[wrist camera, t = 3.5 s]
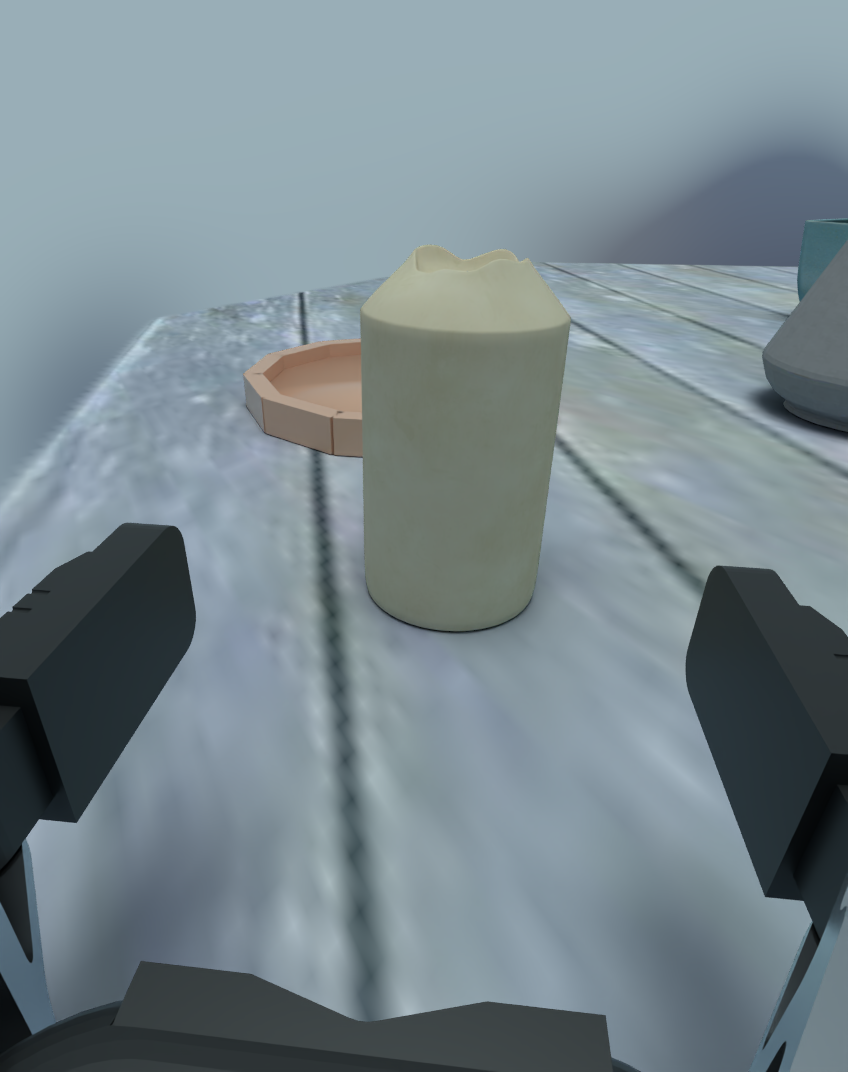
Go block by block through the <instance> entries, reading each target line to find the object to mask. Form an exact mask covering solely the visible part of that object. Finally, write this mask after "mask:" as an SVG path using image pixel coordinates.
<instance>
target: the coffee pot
mask: <svg viewBox="0 0 848 1072" xmlns="http://www.w3.org/2000/svg"><path fill="white" fill-rule="evenodd" d="M762 358H763V364H764V369H765V374H766V378H767V380H768V381H769V383H770V385H771V386H772V388H773V390H774V391H776V392H777V393H778V394H779V395H780V396H782V397H783V398H784V399H785V401H784V407H785V408H786V409H787V410H788V411H790V412H791V413H792V414H794V415H796V416H798V417H800V418H802V419H805V420H808V421H810V422H813V423H816V424H819V425H822V426H826V427H830V428H833V429H837V430H842V431H847V432H848V240H847V241H846V242H845V244H844V245H843V246H842V248H841V249H840V250H839V252H838V253H837V254H836V255H835V257H834V258H833V259H832V261H831V262H830V263H829V265H828V266H827V267H826V269H825V270H824V271H823V272H822V274H821V275H820V276H819V278H818V279H817V280H816V282H815V283H814V284H813V286H812V287H811V288H810V289H809V291H808V292H807V293H806V295H805V296H804V297H803V299H802V300H801V301H800V303H799V304H798V305H797V307H796V308H795V309H794V310H793V312H792V313H791V314H790V316H789V317H788V318H787V320H786V321H785V322H784V324H783V325H782V326H781V327H780V329H779V330H778V331H777V333H776V334H775V335H774V337H773V338H772V339H771V341H770V342H769V343H768V344H767V346H766V347H765V349H764V351H763V355H762Z"/></svg>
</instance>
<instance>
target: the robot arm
mask: <svg viewBox="0 0 848 1072" xmlns="http://www.w3.org/2000/svg"><path fill="white" fill-rule="evenodd" d="M195 623H196V611H195V604H194V598H193V592H192V586H191V581H190V575H189V569H188V563H187V557H186V552H185V546H184V541H183V537H182V534H181V532H180V531H179V529H178V528H177V527H175V526H167V525H153V524H139V523H124V524H122V525H121V526H119V527H118V528H117V529H116V530H115V531H114V532H113V533H112V534H111V535H110V536H109V537H108V538H106V539H105V540H104V541H103V542H102V543H101V544H100V545H99V546H98V547H97V548H96V549H95V550H94V551H93V552H86V553H84V554H82V555H80V556H79V557H77V558H75V559H73V560H71V561H69V562H67V563H65V564H63V565H61V566H59V567H57V568H55V569H54V570H53V571H52V572H51V573H50V574H49V575H47V576H46V577H45V578H44V579H43V580H42V581H41V582H40V583H39V584H38V585H36V586H35V587H34V588H33V589H32V594H26V595H25V596H24V597H23V598H22V599H21V600H20V601H19V602H18V603H17V604H15V605H14V606H13V610H12V612H7V613H5V614H4V615H3V616H2V617H1V618H0V1072H640V1071H638V1070H637V1069H635V1068H633V1067H631V1066H630V1065H628V1064H625V1063H623V1062H621V1061H619V1060H616V1059H614V1058H612V1057H611V1053H610V1046H609V1038H608V1030H607V1023H606V1015H598V1014H589V1013H581V1012H572V1011H564V1010H555V1009H547V1008H538V1007H529V1006H521V1005H512V1004H504V1003H495V1002H482V1003H476V1004H470V1005H465V1006H459V1007H453V1008H448V1009H442V1010H436V1011H431V1012H425V1013H419V1014H414V1015H408V1016H402V1017H397V1018H391V1019H385V1020H380V1021H372V1022H363V1021H357V1020H354V1019H351V1018H348V1017H346V1016H344V1015H342V1014H339V1013H337V1012H335V1011H333V1010H330V1009H328V1008H326V1007H324V1006H321V1005H319V1004H317V1003H315V1002H312V1001H310V1000H308V999H306V998H304V997H301V996H299V995H297V994H295V993H292V992H290V991H288V990H286V989H283V988H281V987H279V986H277V985H274V984H272V983H270V982H268V981H266V980H263V979H261V978H259V977H257V976H254V975H252V974H247V973H239V972H230V971H222V970H213V969H205V968H196V967H187V966H179V965H170V964H162V963H153V962H145V961H141V962H140V964H139V966H138V968H137V971H136V973H135V975H134V977H133V980H132V982H131V984H130V986H129V988H128V991H127V993H126V995H125V997H124V1000H123V1001H118V1002H113V1003H110V1004H107V1005H103V1006H100V1007H97V1008H93V1009H90V1010H87V1011H83V1012H80V1013H78V1014H76V1015H73V1016H71V1017H69V1018H66V1019H64V1020H61V1021H59V1022H57V1023H56V1020H55V1017H54V1013H53V1010H52V1007H51V1003H50V999H49V995H48V990H47V985H46V979H45V971H44V962H43V954H42V945H41V936H40V928H39V919H38V910H37V902H36V893H35V884H34V876H33V867H32V858H31V852H30V848H29V845H28V843H27V840H26V837H27V836H28V834H29V833H30V831H31V830H32V828H33V827H34V826H35V824H36V823H37V821H38V820H39V819H43V820H53V821H62V822H72V823H77V822H78V820H79V818H80V817H81V815H82V814H83V812H84V811H85V809H86V808H87V806H88V804H89V803H90V801H91V800H92V798H93V797H94V795H95V793H96V792H97V790H98V789H99V787H100V786H101V784H102V783H103V781H104V779H105V778H106V776H107V775H108V773H109V772H110V770H111V769H112V767H113V765H114V764H115V762H116V761H117V759H118V758H119V756H120V755H121V753H122V751H123V750H124V748H125V747H126V745H127V744H128V742H129V740H130V739H131V737H132V736H133V734H134V733H135V731H136V730H137V728H138V726H139V725H140V723H141V722H142V720H143V719H144V717H145V716H146V714H147V712H148V711H149V709H150V708H151V706H152V705H153V703H154V701H155V700H156V698H157V697H158V695H159V694H160V692H161V691H162V689H163V687H164V686H165V684H166V683H167V681H168V680H169V678H170V677H171V675H172V673H173V672H174V670H175V669H176V667H177V666H178V664H179V662H180V661H181V659H182V658H183V656H184V655H185V653H186V652H187V650H188V648H189V646H190V644H191V641H192V638H193V635H194V630H195ZM686 682H687V687H688V691H689V694H690V697H691V700H692V702H693V705H694V708H695V711H696V713H697V716H698V719H699V721H700V724H701V727H702V729H703V732H704V735H705V737H706V740H707V743H708V745H709V748H710V751H711V753H712V756H713V759H714V761H715V764H716V767H717V769H718V772H719V775H720V777H721V780H722V783H723V785H724V788H725V791H726V794H727V796H728V799H729V802H730V804H731V807H732V810H733V812H734V815H735V818H736V820H737V823H738V826H739V828H740V831H741V834H742V836H743V839H744V842H745V844H746V847H747V850H748V852H749V855H750V858H751V860H752V863H753V866H754V869H755V871H756V874H757V877H758V879H759V882H760V885H761V887H762V890H763V893H764V895H765V897H771V898H781V899H790V900H800V901H804V903H805V905H806V907H807V910H808V912H809V914H810V917H811V919H812V922H811V923H810V925H809V927H808V929H807V931H806V933H805V935H804V937H803V939H802V942H801V944H800V946H799V949H798V951H797V954H796V956H795V959H794V961H793V964H792V966H791V969H790V971H789V974H788V976H787V978H786V981H785V983H784V986H783V988H782V991H781V993H780V996H779V998H778V1001H777V1003H776V1006H775V1008H774V1010H773V1013H772V1015H771V1018H770V1020H769V1023H768V1025H767V1028H766V1030H765V1033H764V1035H763V1037H762V1040H761V1042H760V1045H759V1047H758V1050H757V1052H756V1055H755V1057H754V1060H753V1062H752V1064H751V1067H750V1069H749V1071H748V1072H848V637H847V635H846V634H845V633H844V631H843V630H842V629H841V628H839V627H838V626H836V625H835V624H834V623H832V622H831V621H830V620H828V619H827V618H825V617H824V616H823V615H821V614H820V613H819V612H817V611H816V610H814V609H813V608H812V607H810V606H800V605H799V604H798V603H797V601H796V600H795V599H794V597H793V596H792V594H791V593H790V592H789V590H788V589H787V587H786V586H785V584H784V583H783V582H782V580H781V579H780V577H779V576H778V575H777V573H776V572H775V571H773V570H771V569H760V568H746V567H732V566H716V567H714V568H713V569H712V571H711V572H710V574H709V577H708V579H707V582H706V586H705V590H704V593H703V597H702V600H701V604H700V607H699V611H698V614H697V618H696V622H695V625H694V629H693V632H692V636H691V639H690V643H689V646H688V651H687V656H686Z"/></svg>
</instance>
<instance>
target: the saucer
mask: <svg viewBox="0 0 848 1072" xmlns="http://www.w3.org/2000/svg"><path fill="white" fill-rule="evenodd" d="M243 377H244V387H245V396H246V406H247V408H248V409H249V411H250V412H251V414H252V415H253V417H254V418H255V420H256V421H257V423H258V424H259V425H260V427H261V428H262V430H263V431H264V433H265V432H266V434H269V435H272V436H275V437H279V438H282V439H285V440H288V441H291V442H294V443H297V444H300V445H303V446H306V447H310V448H313V449H316V450H319V451H322V452H325V453H328V454H334V455H342V456H357V457H363V441H362V383H361V338H360V339H345V340H331V341H322V342H320V341H319V342H315V343H311V344H307V345H303V346H299V347H295V348H290V349H286V350H282V351H278V352H274V353H270V354H267V355H266V356H265V357H264V358H262V359H261V360H260V361H259V362H257V363H256V364H255V365H254V366H252V367H251V368H250V369H248V370H247V371H246V372H245V373H243Z"/></svg>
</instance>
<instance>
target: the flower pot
mask: <svg viewBox="0 0 848 1072" xmlns="http://www.w3.org/2000/svg"><path fill="white" fill-rule="evenodd" d="M847 240H848V219H826V220H807V221H805V227H804V233H803V240H802V246H801V254H800V260H799V267H798V278H797V284H798V295H799V300H800V301H801V300H802V299H803V297H804V296H805V295H806V293H807V292H808V291H809V289H810V288H811V287H812V286H813V284H814V283H815V282H816V280H817V279H818V278H819V276H820V275H821V274H822V272H823V271H824V270H825V269H826V267H827V266H828V265H829V263H830V262H831V261H832V259H833V258H834V257H835V255H836V254H837V253H838V252H839V250H840V249H841V248H842V246H843V245H844V244H845V242H846V241H847Z"/></svg>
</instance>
